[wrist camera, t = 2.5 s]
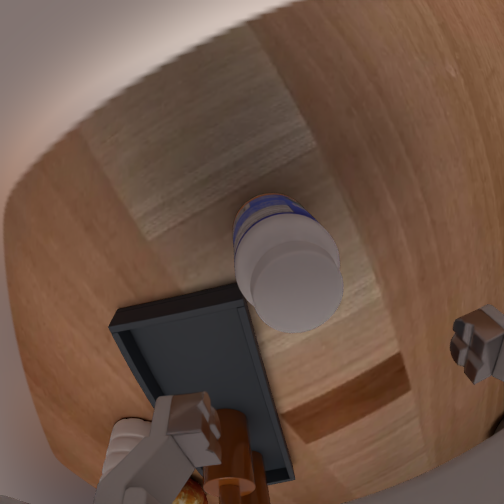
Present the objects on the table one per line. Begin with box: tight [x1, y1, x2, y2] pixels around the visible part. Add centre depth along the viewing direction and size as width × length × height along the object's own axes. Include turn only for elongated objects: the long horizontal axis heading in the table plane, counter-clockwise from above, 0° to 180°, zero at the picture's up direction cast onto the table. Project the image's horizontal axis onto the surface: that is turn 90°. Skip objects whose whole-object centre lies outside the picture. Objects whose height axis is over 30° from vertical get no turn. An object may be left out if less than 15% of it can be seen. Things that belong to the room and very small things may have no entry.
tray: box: [108, 283, 295, 485], centre depth 27 cm, size 27×10×3 cm, turn 13°
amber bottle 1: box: [203, 408, 256, 504], centre depth 23 cm, size 4×4×11 cm
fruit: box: [172, 477, 208, 504], centre depth 31 cm, size 11×10×8 cm
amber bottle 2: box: [241, 451, 270, 504], centre depth 26 cm, size 4×4×11 cm
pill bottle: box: [233, 193, 344, 333], centre depth 18 cm, size 5×5×10 cm
